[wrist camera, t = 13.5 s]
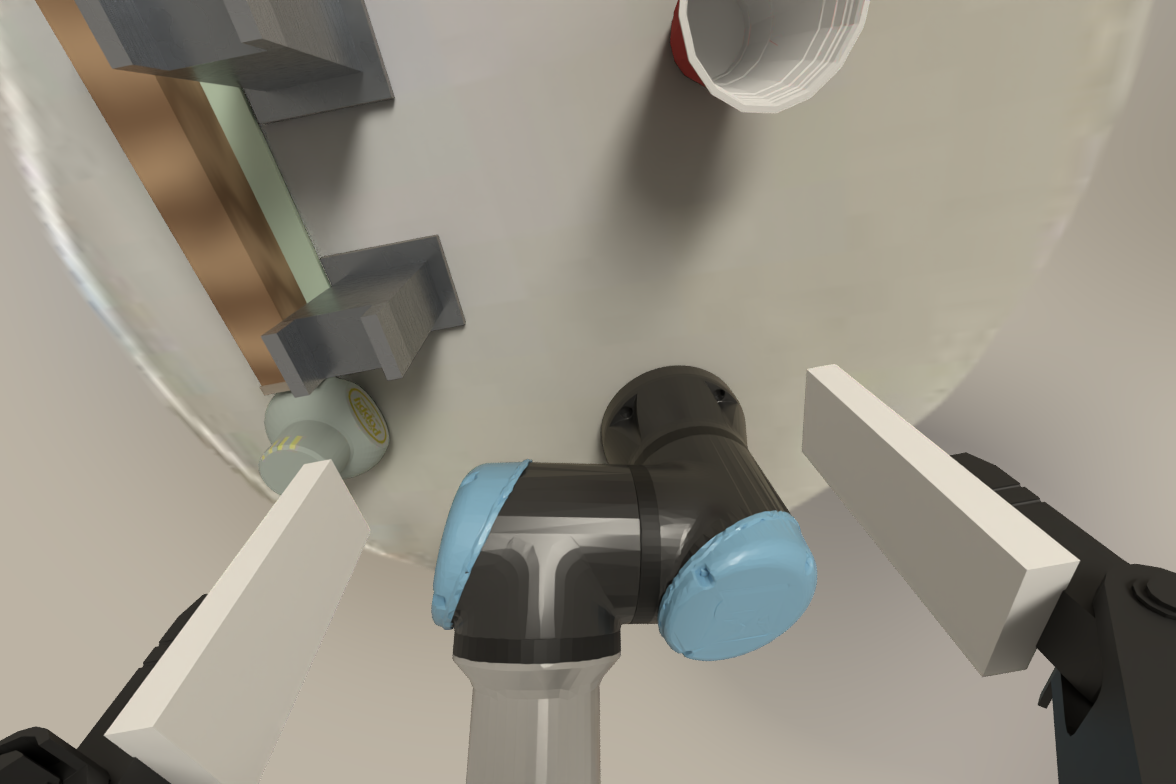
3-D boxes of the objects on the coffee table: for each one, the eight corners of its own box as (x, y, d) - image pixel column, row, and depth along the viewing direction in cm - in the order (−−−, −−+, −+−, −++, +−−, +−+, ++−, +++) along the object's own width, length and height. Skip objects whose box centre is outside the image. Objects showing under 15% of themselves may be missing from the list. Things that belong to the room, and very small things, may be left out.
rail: (337, 362, 45) (316, 385, 40) (289, 371, 45) (264, 395, 41) (142, -39, 30) (80, -66, 26) (73, -25, 30) (1, -49, 26)
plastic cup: (782, 104, 37) (873, 93, 27) (647, 132, 38) (686, 132, 27) (785, -79, 32) (901, -183, 22) (629, -46, 32) (668, -132, 22)
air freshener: (271, 381, 45) (205, 440, 37) (347, 353, 45) (299, 407, 36) (336, 465, 51) (291, 534, 42) (405, 442, 50) (375, 507, 41)
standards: (465, 321, 44) (432, 397, 31) (361, 341, 44) (287, 424, 32) (350, -42, 31) (217, -159, 19) (204, -12, 31) (-24, -109, 19)
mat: (360, 352, 45) (359, 353, 44) (268, 369, 45) (266, 371, 44) (189, -30, 31) (185, -32, 31) (57, -3, 31) (51, -5, 31)
